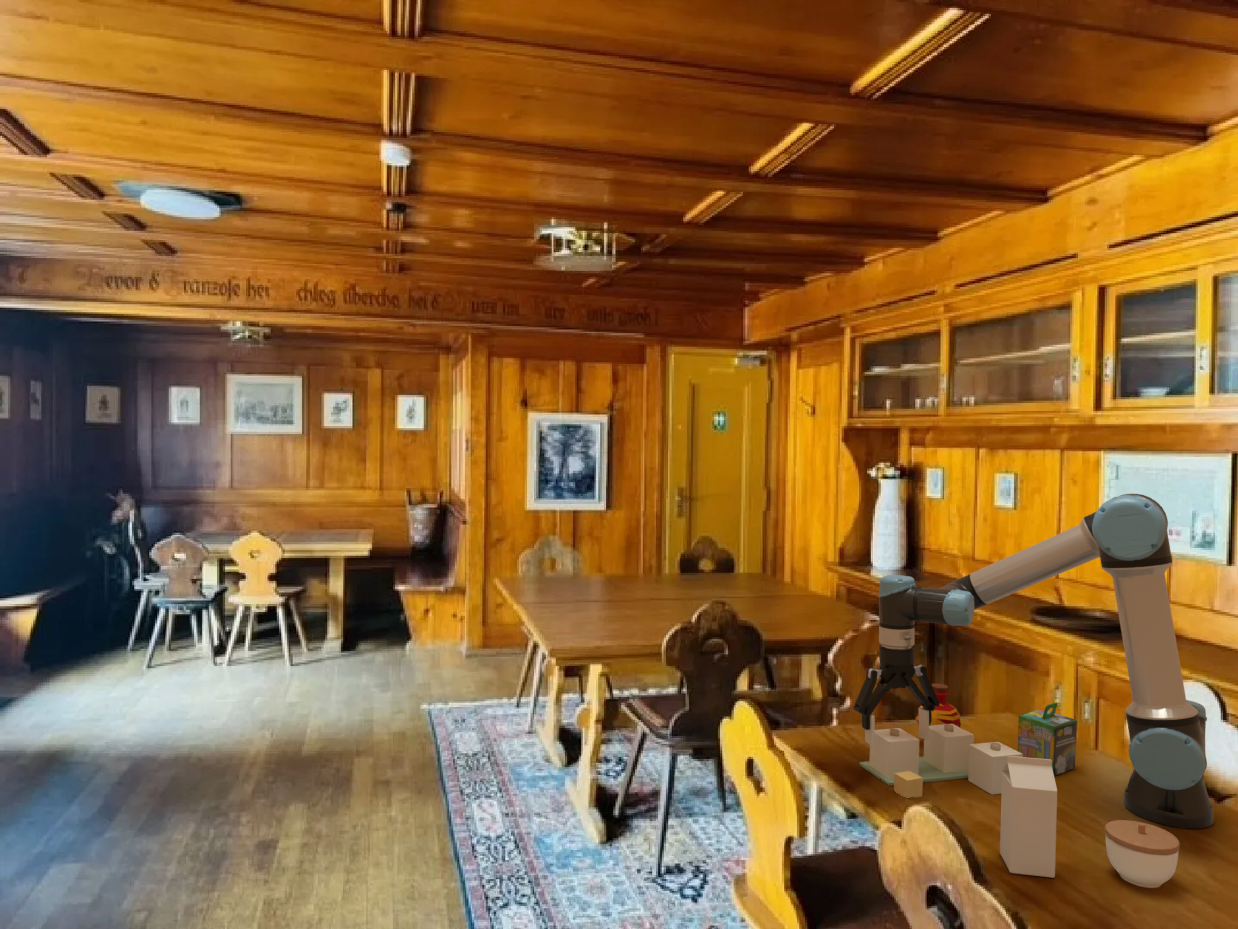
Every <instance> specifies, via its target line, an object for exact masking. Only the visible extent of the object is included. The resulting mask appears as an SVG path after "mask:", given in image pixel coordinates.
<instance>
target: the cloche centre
mask: <svg viewBox="0 0 1238 929" xmlns="http://www.w3.org/2000/svg"><path fill="white" fill-rule="evenodd" d="M960 727H961V726H960ZM960 727H958V726H956V725H954V724H944V725H932V726H929V740H925V739H923V757H924V761H925V762H927V763H928V764H930V765H932V766H933V767H935V768H937V769H938V770H940V771H942V772H943V773H949V772H959V771H968V768H969V744H975V735H974V734H973V733H971V732H969V731H968V730H966V729H963V728H962V727H961V728H960Z"/></svg>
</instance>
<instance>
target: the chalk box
mask: <svg viewBox="0 0 1238 929" xmlns="http://www.w3.org/2000/svg"><path fill="white" fill-rule="evenodd" d="M1057 707H1058V702H1052V703H1050V704H1047V705H1046V706H1045V708H1044V709H1042V708H1038V709H1035V710H1031V711H1028V712H1025V713H1022V714H1019V716H1018V731H1017V732H1018V733H1017V751H1018V752H1020V753H1022V754H1023V757H1026V758H1038V759H1050V760H1052V770H1053V774H1054V777H1055V776H1058V775H1061V774H1064V773H1068V772H1070V771H1073V770H1075V769H1076V756H1077V755H1076V754H1077V734H1078V733H1077V732H1078V731H1077V730H1078V719H1075V718H1073V717H1072V718H1071V717H1069V716H1065V715H1062V714H1058V713H1056V710H1057ZM1051 709H1052V710H1051ZM1050 710H1051V711H1050Z"/></svg>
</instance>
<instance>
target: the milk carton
mask: <svg viewBox="0 0 1238 929" xmlns="http://www.w3.org/2000/svg"><path fill="white" fill-rule="evenodd" d="M1000 797H1001V803H1000V807H1001V808H1000V837H999V838H1000V841H999V853H1000V855H1001V858H1002V859H1003V862H1004V863H1005V865H1006V867H1007V870H1008V871H1009V873H1011V874H1017V875H1026V876H1036V877H1045V878H1056V877H1055V876H1056V854H1057V853H1056V846H1057V816H1058V815H1057V813H1058V812H1057V808H1058V788H1057V784H1056V779H1055V776H1054V774H1053V770H1052V760H1050V759H1038V758H1026V757H1014V756H1008V757H1007V764H1006V765H1005V767H1004V769H1003V771H1002V794H1001V796H1000Z"/></svg>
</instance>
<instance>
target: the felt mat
mask: <svg viewBox="0 0 1238 929" xmlns="http://www.w3.org/2000/svg"><path fill="white" fill-rule="evenodd" d="M859 766H860V767H862V768H864V770H866V771H867V772H868V773H870V774H872V775H873V776H874V777H876V778H877V779H878V780H880V779H881V780H880V781H881V782H883V783H884V784H886V785H888V787H889V786H894V778H887V777H885V776H884V775H883V774H881V773H880V772H878V771H877V770H875V769H874V768H872V767H871V766H870V760H867V761H860V762H859ZM918 776H920V777H922V778H923V783H930V782H931V783H933V782H941V781H951V780H961V779H968V771H959V772H949V773H943V772H942V771H940V770H938V769H937V768H935V767H933V766H932V765H930V764H928V763H927V762H925V761H924V756H919V773H918Z"/></svg>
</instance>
